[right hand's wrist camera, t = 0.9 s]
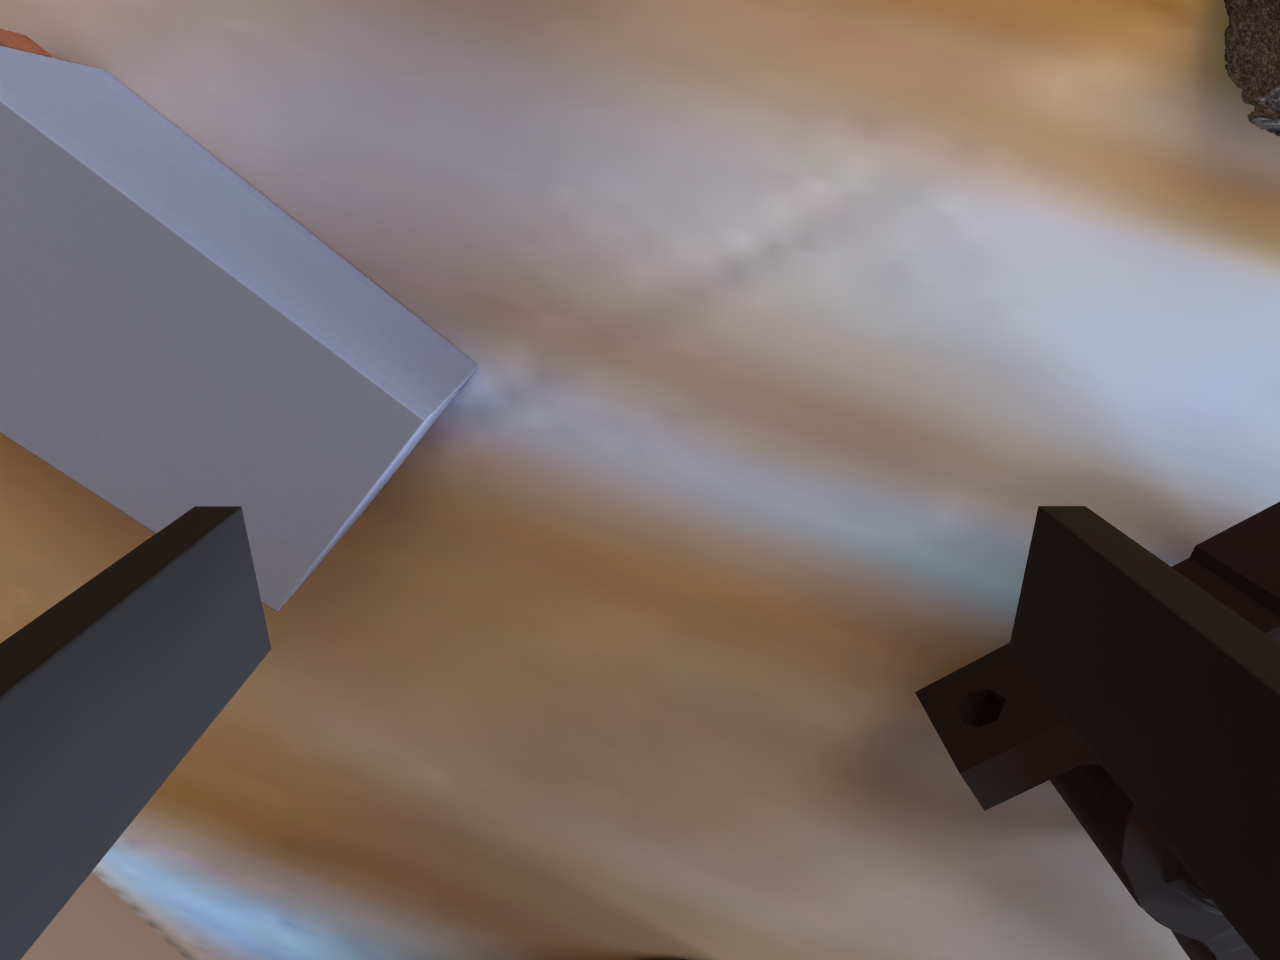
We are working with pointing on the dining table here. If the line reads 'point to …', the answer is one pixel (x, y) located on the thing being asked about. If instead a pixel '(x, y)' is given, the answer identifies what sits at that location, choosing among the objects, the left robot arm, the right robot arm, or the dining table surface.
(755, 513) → the dining table surface
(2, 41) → the drawer
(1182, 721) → the right robot arm
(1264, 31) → the rock
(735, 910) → the dining table surface
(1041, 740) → the mechanical component
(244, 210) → the grey rectangular box
